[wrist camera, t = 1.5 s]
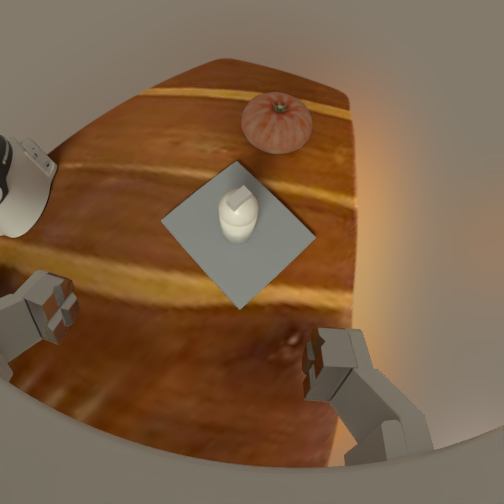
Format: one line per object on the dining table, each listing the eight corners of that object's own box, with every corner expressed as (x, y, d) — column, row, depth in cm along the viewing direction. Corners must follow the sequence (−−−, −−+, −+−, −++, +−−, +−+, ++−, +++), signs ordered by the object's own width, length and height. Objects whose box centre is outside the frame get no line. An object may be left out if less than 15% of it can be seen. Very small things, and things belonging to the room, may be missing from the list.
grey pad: (162, 223, 38) (160, 220, 37) (236, 164, 41) (236, 160, 40) (239, 310, 35) (239, 309, 34) (314, 239, 38) (316, 237, 37)
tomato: (291, 175, 41) (303, 145, 33) (228, 147, 41) (227, 114, 34) (315, 129, 44) (327, 98, 36) (258, 105, 44) (261, 72, 36)
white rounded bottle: (214, 227, 37) (207, 194, 27) (238, 206, 38) (240, 169, 28) (236, 251, 36) (237, 225, 27) (261, 229, 37) (270, 197, 28)
